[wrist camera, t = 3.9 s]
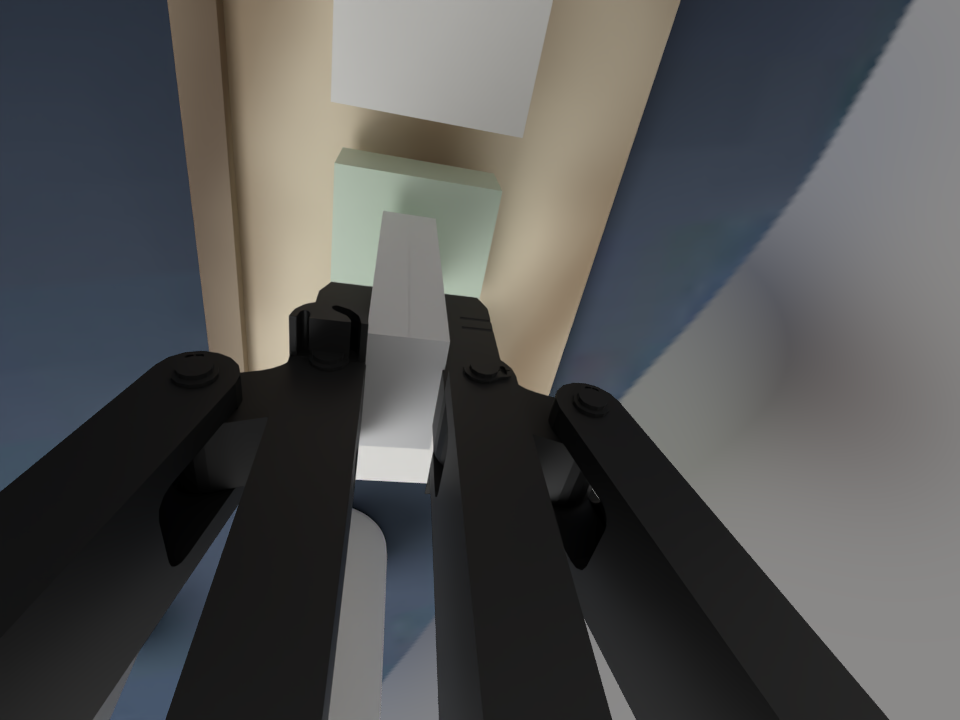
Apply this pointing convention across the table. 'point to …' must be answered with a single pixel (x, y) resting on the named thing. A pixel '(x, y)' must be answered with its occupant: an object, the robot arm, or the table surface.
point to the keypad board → (331, 126)
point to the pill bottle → (361, 625)
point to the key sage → (414, 191)
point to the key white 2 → (440, 59)
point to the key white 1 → (393, 464)
